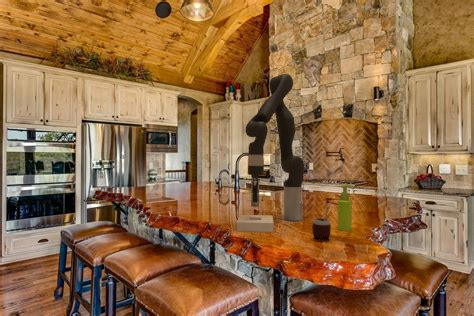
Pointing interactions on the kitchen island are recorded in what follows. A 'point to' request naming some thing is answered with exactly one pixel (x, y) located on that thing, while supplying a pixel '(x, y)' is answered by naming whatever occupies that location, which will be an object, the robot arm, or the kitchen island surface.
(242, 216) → the socket block
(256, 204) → the peg
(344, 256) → the kitchen island surface
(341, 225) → the soap dispenser
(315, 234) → the mate gourd
